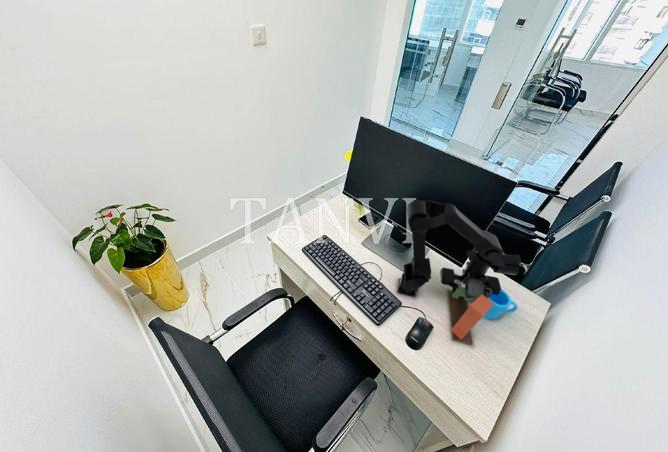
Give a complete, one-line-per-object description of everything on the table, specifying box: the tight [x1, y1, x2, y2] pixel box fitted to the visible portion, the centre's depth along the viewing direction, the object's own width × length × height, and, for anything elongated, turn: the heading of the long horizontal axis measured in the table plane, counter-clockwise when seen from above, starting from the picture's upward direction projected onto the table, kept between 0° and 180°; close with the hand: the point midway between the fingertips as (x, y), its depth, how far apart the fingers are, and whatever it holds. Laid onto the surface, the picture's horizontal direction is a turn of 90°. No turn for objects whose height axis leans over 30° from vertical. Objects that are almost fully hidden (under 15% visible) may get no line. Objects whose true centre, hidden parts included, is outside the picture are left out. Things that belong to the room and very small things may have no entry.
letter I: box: [450, 294, 494, 340], centre depth 79 cm, size 4×6×16 cm, turn 127°
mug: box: [483, 288, 518, 320], centre depth 89 cm, size 12×8×8 cm
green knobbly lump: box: [452, 282, 471, 302], centre depth 93 cm, size 4×6×5 cm, turn 76°
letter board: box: [447, 289, 473, 346], centre depth 89 cm, size 6×20×1 cm, turn 165°
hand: (461, 294), depth 94 cm, fingers closed on green knobbly lump, 6 cm apart
